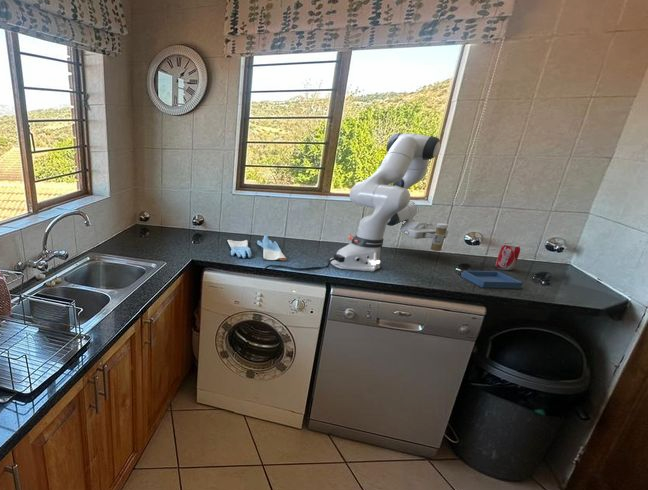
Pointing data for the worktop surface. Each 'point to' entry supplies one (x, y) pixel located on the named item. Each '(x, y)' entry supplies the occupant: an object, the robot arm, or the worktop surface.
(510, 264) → the soda can
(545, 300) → the worktop surface
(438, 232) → the sprinkles bottle
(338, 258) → the robot arm
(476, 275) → the blue tray
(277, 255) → the rubber gloves
